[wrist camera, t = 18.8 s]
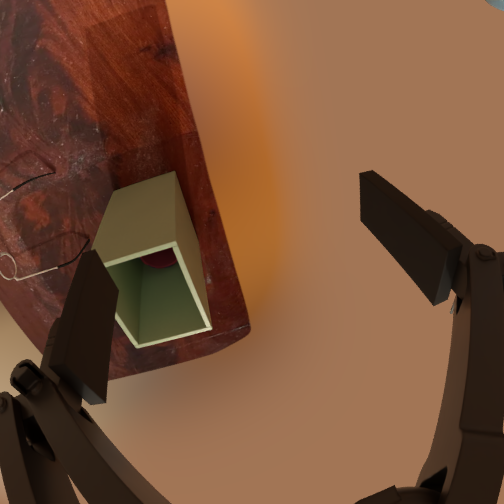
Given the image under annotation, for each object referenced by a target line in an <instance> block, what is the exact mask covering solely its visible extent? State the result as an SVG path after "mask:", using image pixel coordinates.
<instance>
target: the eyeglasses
mask: <svg viewBox="0 0 504 504" xmlns="http://www.w3.org/2000/svg"><path fill="white" fill-rule="evenodd" d="M54 173H56V172H53V173H49V174H54ZM49 174H44V175H41V176H38V177H35V178H32V179H30V180H28V181H26V182H24V183H22V184H20V185H18V186H17V187H15V188H13V189H12V190H11V191H10V192H13V191H15V190H16V189H18V188H19V187H21V186H23V185H24V184H26V183H28V182H30V181H32V180H34V179H37V178H39V177H42V176H46V175H49ZM10 192H9V193H10ZM9 193H7V194H6V195H8V194H9ZM6 195H5V196H6ZM5 196H3V197H2V198H4V197H5ZM2 198H0V200H1V199H2ZM89 241H90V239H88V241H87V242H86V244H85V245H84V247H83V248H82V250H81V251H80V253H79V254H78V255H77V256H76V258H75V259H73V260H72V261H70V262H68V263H65V264H62V265H59V266H57V267H55V268H52V269H56V268H61V267H64V266H66V265H69V264H71V263H72V262H74V261H75V260H76V259H77V258H78V257H79V255H80V254H81V253H82V251H83V250H84V249H85V247H86V246H87V244H88V243H89ZM4 253H6V254H4ZM0 255H1V256H2V255H8V256H10V257H11V258H12V260H13V261H14V258H13V257H12V256H11V255H10V254H9V253H7V252H1V253H0ZM1 256H0V257H1ZM14 264H15V267H16V272H15V276H14V277H13V278H14V279H16V280H17V281H18V280H21V279H25V278H28V277H31V276H34V275H37V274H40V273H43V272H46V271H49V270H52V269H49V270H44V271H41V272H38V273H35V274H32V275H28V276H25V277H22V278H18V277H16V273H17V266H16V263H15V261H14ZM0 274H1V275H2V276H3V274H2V273H1V271H0ZM3 277H4V276H3ZM4 278H5V279H8V278H6V277H4ZM13 278H12V279H13ZM8 280H11V279H8Z"/></svg>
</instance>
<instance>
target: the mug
mask: <svg viewBox="0 0 504 504" xmlns="http://www.w3.org/2000/svg"><path fill="white" fill-rule="evenodd" d="M139 258H140V260H141V261H142V262H143V263H144V264H146V265H148V266H150V267H153V268H167V267H170V266H172V265H173V264H175V263H176V262H177V261H178V260H177V258H176V255H175V253H174V250H173V248H172V247H170V248H167V249H164V250H161V251H157V252H154V253H151V254H147V255H144V256H141V257H139Z"/></svg>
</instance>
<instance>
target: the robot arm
mask: <svg viewBox="0 0 504 504" xmlns="http://www.w3.org/2000/svg"><path fill="white" fill-rule="evenodd" d="M486 1H487V2H488V3H489V4H490V5H491V6H493V7H495V8H497V9H499V10H502V11H504V0H486ZM359 175H360V176H359V177H360V212H361V213H360V216H361V217H360V218H361V222H362V223H363V224H364V225H365V226H366V227H367V228H368V229H369V230H370V231H371V232H372V234H373V235H374V236H375V237H376V238H377V239H378V240H379V241H380V243H381V244H382V245H383V246H384V247H385V248H386V249H387V250H388V252H389V253H390V254H391V255H392V256H393V257H394V258H395V260H396V261H397V262H398V263H399V264H400V265H401V267H402V268H403V269H404V270H405V271H406V273H407V274H408V275H409V276H410V277H411V278H412V280H413V281H414V282H415V283H416V285H417V286H418V287H419V288H420V290H421V291H422V292H423V293H424V295H425V296H426V297H427V298H428V299H429V301H430V302H431V303H432V305H433V306H435V305H437V304H439V303H441V302H443V301H445V300H447V299H448V297H449V294H450V290H451V289H452V290H453V291H454V292H455V293H456V297H455V300H454V303H453V306H452V308H451V311H450V313H451V314H452V313H453V310H454V314H453V328H452V338H451V347H450V355H449V364H448V370H447V376H446V383H445V389H444V394H443V399H442V404H441V410H440V414H439V418H438V423H437V427H436V431H435V435H434V439H433V443H432V447H431V450H430V453H429V456H428V458H427V460H426V462H425V464H424V465H423V467H422V470H421V472H420V475H419V477H418V480H417V483H416V486H415V487H401V488H396V487H395V485H394V486H392V487H389V488H387V489H385V490H383V491H381V492H378V493H376V494H373V495H371V496H368V497H366V498H363V499H361V500H359V501H358V502H356V503H355V504H497V500H498V496H499V492H500V488H501V484H502V480H503V475H504V434H503V420H504V252H498V253H497V252H496V251H495V250H494V249H492V248H491V247H489V246H487V245H484V244H475V245H474V244H473V243H472V242H471V241H470V240H469V239H467V238H466V237H465V236H464V235H463V234H462V233H461V232H460V231H458V230H457V229H456V228H455V227H453V225H452V224H450V223H449V222H447V220H446V219H444V218H443V217H442V216H441V215H440V214H438V213H436V212H433V211H431V210H427V211H424V210H423V209H422V208H421V207H419V206H418V205H417V204H416V203H415V202H413V201H412V200H411V199H410V198H408V197H407V196H406V195H405V194H403V193H402V192H401V191H399V190H398V189H397V188H396V187H394V186H393V185H392V184H390V183H389V182H388V181H387V180H385V179H384V178H382V177H381V176H380V175H379V174H377V173H376V172H374V171H373V170H371V171H366V172H362V173H359ZM118 295H119V289H118V288H117V286H116V284H115V283H114V281H113V279H112V278H111V276H110V274H109V272H108V271H107V269H106V267H105V265H104V264H103V262H102V260H101V258H100V257H99V255H98V253H97V251H96V249H93V250H90V251H88V252H85V253H82V256H81V258H80V261H79V264H78V266H77V269H76V272H75V275H74V278H73V280H72V283H71V286H70V289H69V292H68V295H67V298H66V302H65V305H64V308H63V311H62V315H61V317H60V318H57V319H56V320H55V322H54V323H53V325H52V327H51V329H50V332H49V335H48V340H47V343H46V347H45V350H44V354H43V358H42V362H41V366H40V369H39V368H38V367H37V366H36V365H35V364H34V363H33V362H32V361H31V360H28V359H26V360H23V361H21V362H20V363H18V364H17V365H16V367H15V368H14V370H13V371H12V374H11V378H10V383H11V385H12V386H13V387H14V388H15V389H16V390H17V391H19V392H20V393H21V394H20V395H18V396H16V397H13V396H12V395H10V394H9V393H8V392H2V393H0V468H1V473H2V477H3V482H4V486H5V489H6V493H7V497H8V500H9V504H80V503H79V501H78V499H77V496H76V494H75V492H74V489H73V487H72V484H71V482H70V479H69V477H70V478H71V480H72V481H73V483H74V484H75V486H76V487H77V488H78V490H79V491H80V493H81V494H82V495H83V497H84V498H85V499H86V501H87V502H88V503H89V504H171V503H170V502H169V501H168V500H167V499H166V498H165V497H164V496H162V495H161V494H160V493H159V492H158V491H157V490H156V489H155V488H154V487H153V486H152V485H151V484H150V483H149V482H148V481H147V480H146V479H145V478H144V477H143V476H142V475H141V474H140V473H139V472H138V471H137V470H136V469H135V468H134V467H133V466H132V465H131V463H130V462H129V461H128V460H127V459H126V458H125V457H124V456H123V455H122V454H121V453H120V451H119V450H118V449H117V448H116V447H115V446H114V444H113V443H112V442H111V441H110V440H109V439H108V437H107V436H106V435H105V434H104V432H103V431H102V430H101V429H100V427H99V426H98V425H97V424H96V422H95V421H94V420H93V419H92V418H91V416H90V415H89V413H88V412H87V411H86V409H84V408H83V407H82V406H81V404H82V398H83V399H84V400H85V401H87V402H88V403H89V404H90V405H95V404H103V403H106V397H107V383H108V372H109V362H110V352H111V343H112V335H113V328H114V321H115V314H116V307H117V301H118ZM68 475H69V477H68Z"/></svg>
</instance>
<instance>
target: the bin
mask: <svg viewBox="0 0 504 504" xmlns="http://www.w3.org/2000/svg"><path fill="white" fill-rule="evenodd" d="M170 247H172V248H173V250H174V253H175V255H176V258H177V260H178V261H177V262H176V263H175V264H173V265H172V266H170V267H167V268H153V267H150V266H148V265H146V264H144V263H143V262H142V261H141V260H140V258H139V257H141V256H144V255H147V254H151V253H154V252H157V251H161V250H164V249H167V248H170ZM93 249H96V251H97V253H98V255H99V257H100V258H101V260H102V262H103V264H104V265H105V267H106V269H107V271H108V272H109V274H110V276H111V278H112V279H113V281H114V283H115V284H116V286H117V288H118V289H119V295H118V301H117V307H116V314H115V319H116V320H117V322H118V323H119V325H120V326H121V327H122V329H123V330H124V332H125V333H126V335H127V336H128V337H129V339H130V340H131V342H132V343H133V344H134V346H135V347H136V348H140V347H144V346H148V345H153V344H157V343H161V342H165V341H169V340H173V339H177V338H181V337H185V336H188V335H192V334H196V333H200V332H204V331H207V330H211V329H212V323H211V317H210V312H209V306H208V300H207V294H206V288H205V282H204V275H203V269H202V262H201V256H200V249H199V242H198V239H197V236H196V233H195V230H194V227H193V224H192V221H191V218H190V215H189V212H188V209H187V206H186V203H185V200H184V197H183V194H182V191H181V188H180V185H179V181H178V178H177V175H176V172H175V171H172V172H169V173H166V174H163V175H160V176H157V177H154V178H150V179H147V180H144V181H141V182H138V183H136V184H133V185H130V186H127V187H124V188H121V189H118V190H116V191H113V194H112V196H111V199H110V201H109V204H108V206H107V209H106V211H105V214H104V216H103V219H102V221H101V224H100V227H99V229H98V232H97V235H96V237H95V240H94V243H93V246H92V249H91V250H93Z"/></svg>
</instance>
